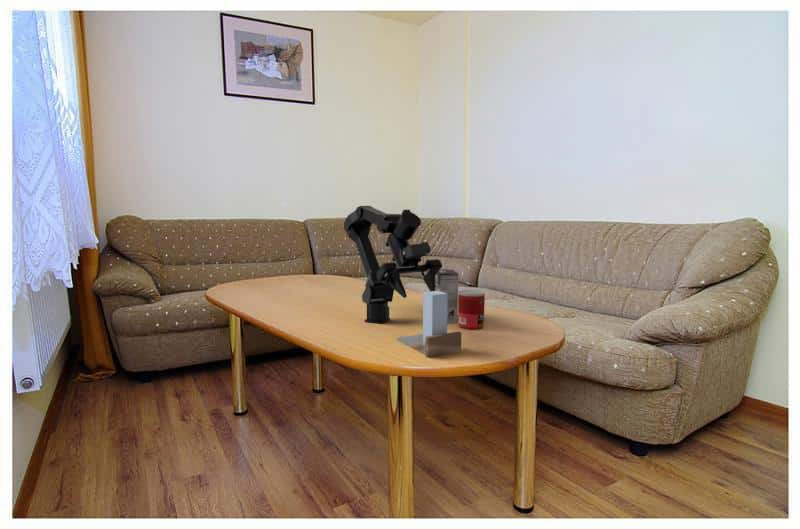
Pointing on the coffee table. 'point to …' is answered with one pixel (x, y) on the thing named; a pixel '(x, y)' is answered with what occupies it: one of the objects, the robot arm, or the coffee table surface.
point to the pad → (411, 339)
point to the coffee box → (449, 291)
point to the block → (434, 313)
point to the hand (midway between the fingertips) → (420, 295)
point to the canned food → (471, 309)
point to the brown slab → (440, 344)
